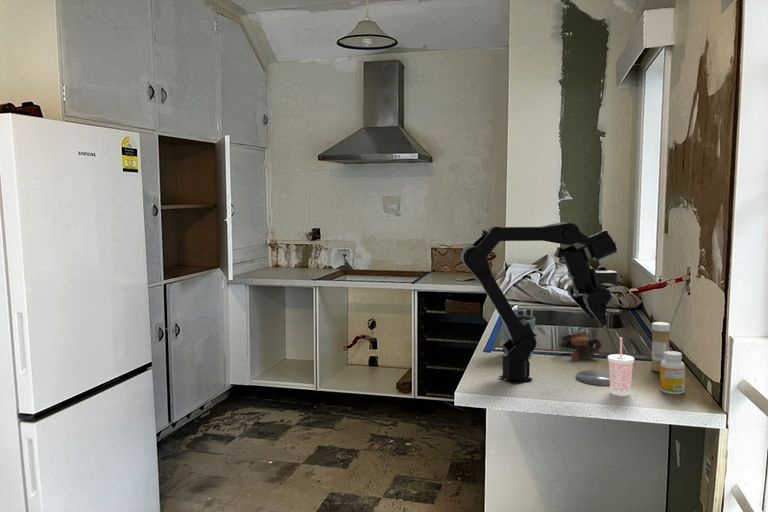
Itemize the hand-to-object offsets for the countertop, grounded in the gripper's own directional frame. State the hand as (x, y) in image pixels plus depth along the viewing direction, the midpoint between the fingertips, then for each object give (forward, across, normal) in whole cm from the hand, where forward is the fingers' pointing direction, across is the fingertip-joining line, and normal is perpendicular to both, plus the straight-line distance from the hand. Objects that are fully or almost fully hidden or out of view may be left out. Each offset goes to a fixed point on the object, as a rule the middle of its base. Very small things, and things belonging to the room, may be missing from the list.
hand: (598, 321), depth 159 cm
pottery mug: (+16, +22, +3) cm, 28 cm away
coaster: (+14, 0, +5) cm, 15 cm away
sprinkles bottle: (+21, +6, -13) cm, 26 cm away
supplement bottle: (+20, -12, -8) cm, 24 cm away
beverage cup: (+15, -12, +4) cm, 20 cm away
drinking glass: (+9, +25, +20) cm, 33 cm away
